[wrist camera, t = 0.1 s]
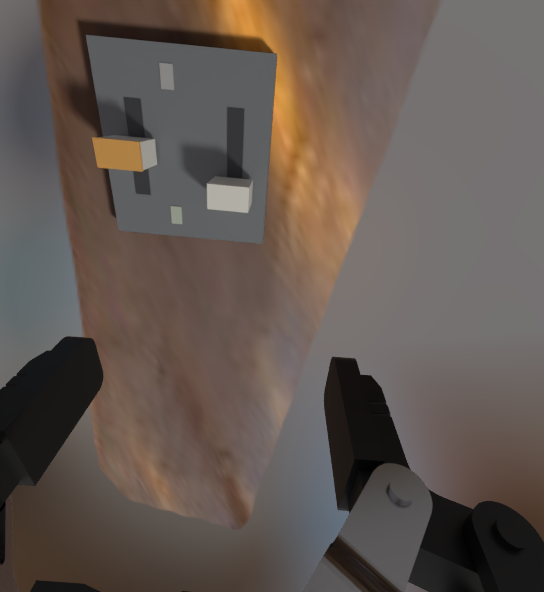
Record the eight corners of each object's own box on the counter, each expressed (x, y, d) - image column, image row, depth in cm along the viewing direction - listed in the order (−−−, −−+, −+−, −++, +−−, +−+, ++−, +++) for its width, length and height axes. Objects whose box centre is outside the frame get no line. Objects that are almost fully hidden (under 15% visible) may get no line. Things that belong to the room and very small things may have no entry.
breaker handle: (114, 134, 31) (92, 137, 28) (155, 138, 31) (138, 141, 28) (118, 161, 33) (97, 167, 29) (157, 165, 33) (142, 171, 29)
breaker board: (97, 39, 30) (53, 22, 24) (277, 57, 30) (275, 44, 24) (126, 225, 39) (99, 244, 33) (263, 237, 39) (260, 259, 33)
